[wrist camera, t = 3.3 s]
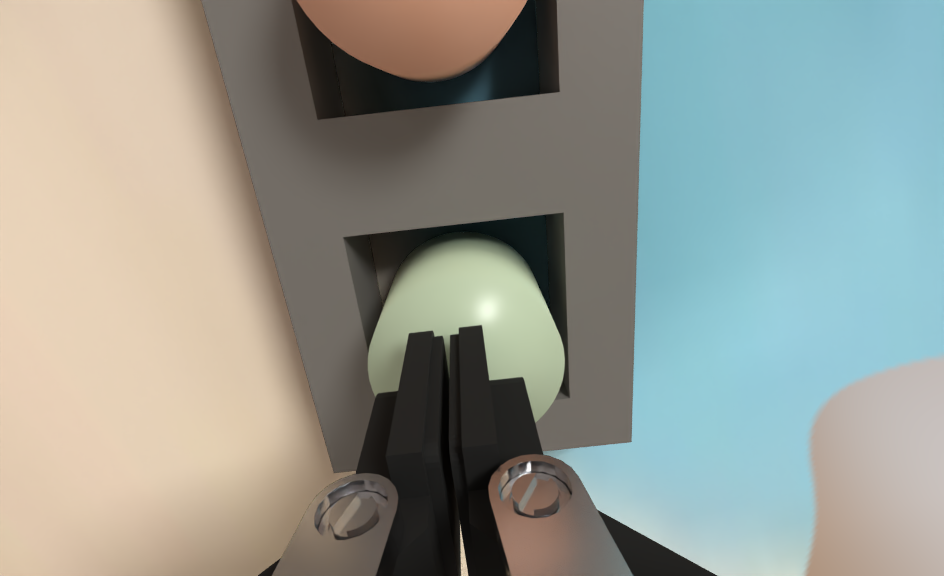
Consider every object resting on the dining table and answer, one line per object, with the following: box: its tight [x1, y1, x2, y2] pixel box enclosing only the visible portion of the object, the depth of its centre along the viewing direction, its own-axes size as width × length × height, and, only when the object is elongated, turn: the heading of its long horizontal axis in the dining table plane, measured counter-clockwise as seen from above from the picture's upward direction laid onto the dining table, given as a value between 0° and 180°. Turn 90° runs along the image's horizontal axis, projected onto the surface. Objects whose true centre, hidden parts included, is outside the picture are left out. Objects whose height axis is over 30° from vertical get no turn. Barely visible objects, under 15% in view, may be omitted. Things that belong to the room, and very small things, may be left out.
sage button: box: [368, 231, 565, 423], centre depth 13 cm, size 5×5×4 cm
